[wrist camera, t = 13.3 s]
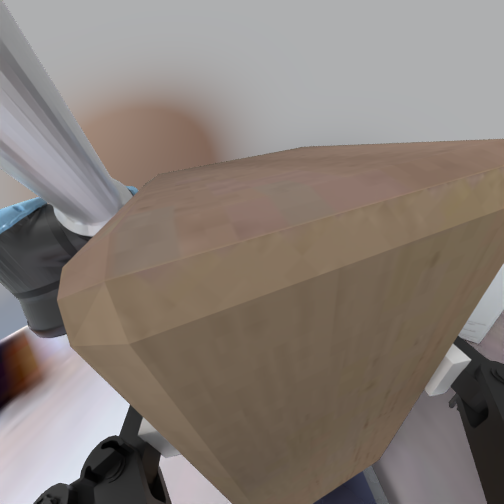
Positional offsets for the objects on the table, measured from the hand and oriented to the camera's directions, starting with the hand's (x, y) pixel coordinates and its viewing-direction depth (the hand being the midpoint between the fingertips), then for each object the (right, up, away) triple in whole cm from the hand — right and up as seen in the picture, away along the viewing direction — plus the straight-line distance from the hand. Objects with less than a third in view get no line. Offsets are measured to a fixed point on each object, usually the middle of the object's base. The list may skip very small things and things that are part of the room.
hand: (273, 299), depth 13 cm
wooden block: (+2, -11, +3) cm, 11 cm away
